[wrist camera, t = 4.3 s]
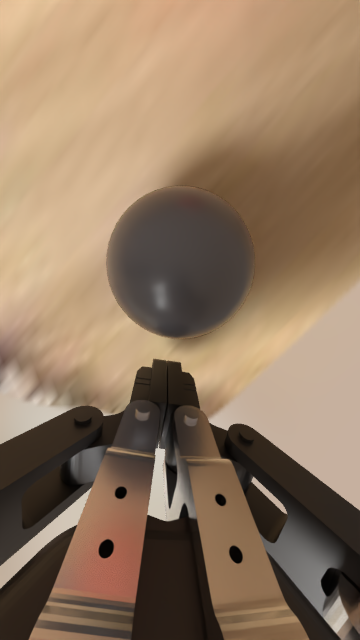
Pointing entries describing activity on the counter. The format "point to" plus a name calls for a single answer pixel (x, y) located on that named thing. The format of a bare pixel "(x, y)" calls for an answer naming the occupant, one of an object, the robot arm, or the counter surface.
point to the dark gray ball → (180, 262)
